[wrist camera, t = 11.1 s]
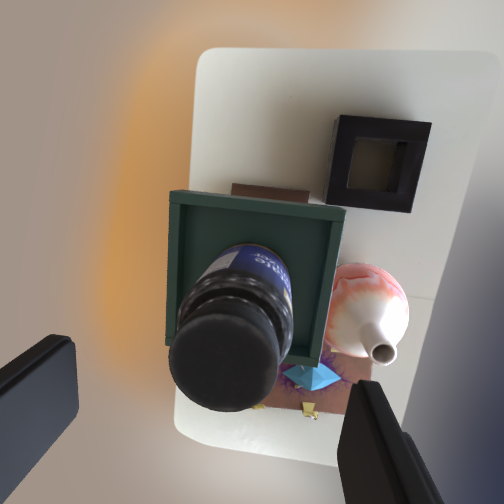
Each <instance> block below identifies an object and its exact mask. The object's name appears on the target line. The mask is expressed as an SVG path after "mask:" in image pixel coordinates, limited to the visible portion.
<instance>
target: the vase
mask: <svg viewBox="0 0 504 504" xmlns="http://www.w3.org/2000/svg"><path fill="white" fill-rule="evenodd" d="M408 320H409V307H408V302H407V299H406V296H405V293H404V292H403V290H402V288H401V286H400V285H399V284H398V282H397V281H396V280H395V279H394V278H393V277H392V276H391V275H390V274H388V273H387V272H386V271H384V270H382V269H381V268H378V267H376V266H373V265H370V264H365V263H349V264H344V265H341V266H338V267H336V272H335V278H334V283H333V289H332V294H331V300H330V306H329V311H328V317H327V322H326V328H325V333H324V339H323V340H324V341H325V342H326V343H327V344H328V345H330V346H331V347H332V348H334V349H335V350H337V351H339V352H341V353H343V354H346V355H349V356H353V357H361V358H363V357H369V358H370V360H371V361H372V362H374V363H375V364H378V365H387V364H389V363H391V362H392V361H393V360H394V359H395V358H396V354H397V351H396V347H395V345H396V344H397V343H398V342H399V340H400V339H401V338H402V336H403V334H404V333H405V330H406V327H407V325H408Z"/></svg>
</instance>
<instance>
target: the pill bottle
mask: <svg viewBox="0 0 504 504" xmlns="http://www.w3.org/2000/svg"><path fill="white" fill-rule="evenodd" d="M292 337H293V314H292V296H291V280H290V274H289V271H288V268H287V266H286V263H285V262H284V260H283V259H282V258H281V257H280V255H279V254H277V253H276V252H275V251H274V250H272V249H271V248H269V247H267V246H263V245H258V244H256V243H252V242H246V243H239V244H236V245H233V246H231V247H229V248H228V249H226V250H225V251H223V252H222V253H221V254H220V255H219V256H218V257H217V259H216V260H215V261H214V262H213V263H212V264H211V266H210V267H209V268H208V269H207V270H206V271H205V273H204V274H203V275H202V276H201V277H200V279H199V280H198V281H197V282H196V283H195V284H194V286H193V287H192V288H191V289H190V290H189V291H188V293H187V294H186V296H185V297H184V299H183V301H182V303H181V305H180V307H179V311H178V316H177V332H176V334H175V336H174V338H173V340H172V343H171V345H170V349H169V356H168V358H169V367H170V371H171V374H172V377H173V379H174V382H175V383H176V385H177V386H178V387H179V389H180V390H181V391H182V392H183V393H184V394H185V395H186V396H187V397H188V398H189V399H190V400H192V401H193V402H195V403H196V404H198V405H200V406H202V407H205V408H208V409H210V410H214V411H219V412H238V411H242V410H245V409H248V408H251V407H253V406H255V405H257V404H258V403H260V402H261V401H262V400H264V399H265V398H266V397H267V396H268V395H269V393H270V392H271V391H272V388H273V386H274V384H275V382H276V380H277V375H278V370H279V365H280V364H281V363H282V361H283V360H284V358H285V357H286V355H287V353H288V350H289V349H290V346H291V342H292Z"/></svg>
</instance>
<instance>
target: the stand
mask: <svg viewBox="0 0 504 504" xmlns="http://www.w3.org/2000/svg"><path fill="white" fill-rule="evenodd" d="M309 193H310V192H309V191H302V190H293V189H283V188H274V187H264V186H255V185H246V184H236V183H232V192H231V195H236V196H245V197H254V198H263V199H272V200H281V201H291V202H300V203H308V200H309Z"/></svg>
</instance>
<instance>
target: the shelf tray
mask: <svg viewBox="0 0 504 504" xmlns="http://www.w3.org/2000/svg"><path fill="white" fill-rule="evenodd" d="M169 202H170V204H169V234H168V267H167V268H168V270H167V301H166V334H165V336H166V338H165V345H166V346H170V345H171V343H172V340H173V338H174V336H175V334H176V332H177V316H178V311H179V307H180V305H181V303H182V301H183V299H184V297H185V296H186V294H187V293H188V291H189V290H190V289H191V288H192V287H193V286H194V284H195V283H196V282H197V281H198V280H199V279H200V277H201V276H202V275H203V274H204V273H205V271H206V270H207V269H208V268H209V267H210V266H211V264H212V263H213V262H214V261H215V260H216V259H217V257H218V256H219V255H220V254H221V253H222V252H223V251H225V250H226V249H228V248H229V247H231V246H233V245H236V244H239V243H246V242H252V243H256V244H258V245H263V246H267V247H269V248H271V249H272V250H274V251H275V252H276V253H277V254H279V255H280V257H281V258H282V259H283V260H284V262H285V263H286V266H287V268H288V271H289V274H290V280H291V296H292V314H293V337H292V342H291V346H290V349H289V350H288V353H287V355H286V357H285V358H284V360H283V361H282V363H288V364H295V365H302V366H309V367H315V368H318V366H319V361H320V356H321V350H322V344H323V339H324V333H325V328H326V322H327V317H328V311H329V306H330V300H331V294H332V289H333V283H334V278H335V272H336V267H337V261H338V255H339V250H340V244H341V239H342V233H343V228H344V222H345V217H346V210H344V209H342V208H340V207H337V206H327V205H318V204H309V203H300V202H291V201H281V200H272V199H263V198H254V197H245V196H236V195H226V194H217V193H208V192H199V191H190V190H175V191H170V195H169Z"/></svg>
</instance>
